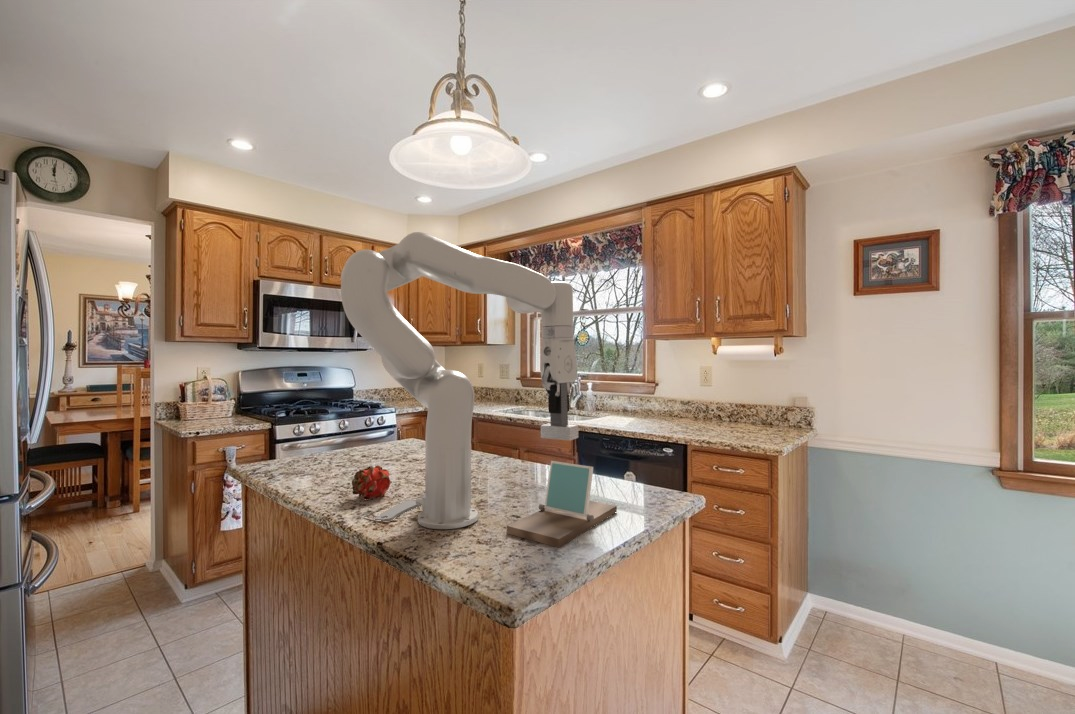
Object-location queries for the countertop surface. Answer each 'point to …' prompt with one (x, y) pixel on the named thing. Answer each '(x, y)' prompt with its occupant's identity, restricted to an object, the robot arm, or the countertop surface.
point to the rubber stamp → (560, 421)
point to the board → (559, 524)
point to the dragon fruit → (371, 482)
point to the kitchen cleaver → (397, 510)
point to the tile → (569, 488)
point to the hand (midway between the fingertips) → (559, 411)
